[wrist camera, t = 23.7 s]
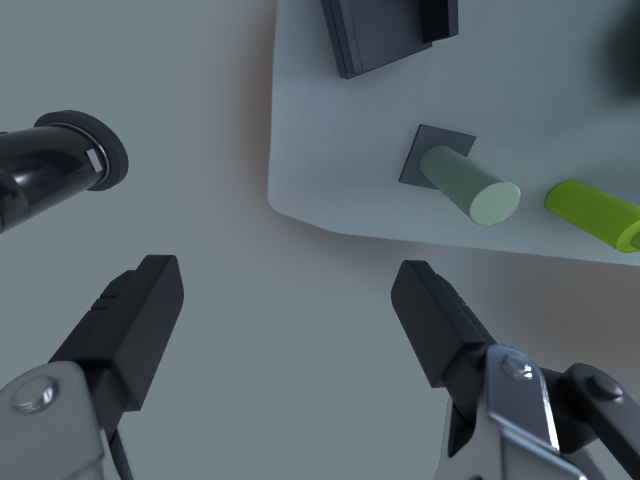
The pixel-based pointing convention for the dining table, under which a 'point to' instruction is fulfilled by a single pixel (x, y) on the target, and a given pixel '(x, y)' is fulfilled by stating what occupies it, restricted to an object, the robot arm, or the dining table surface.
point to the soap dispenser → (597, 214)
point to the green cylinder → (470, 185)
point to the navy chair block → (385, 30)
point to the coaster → (426, 140)
